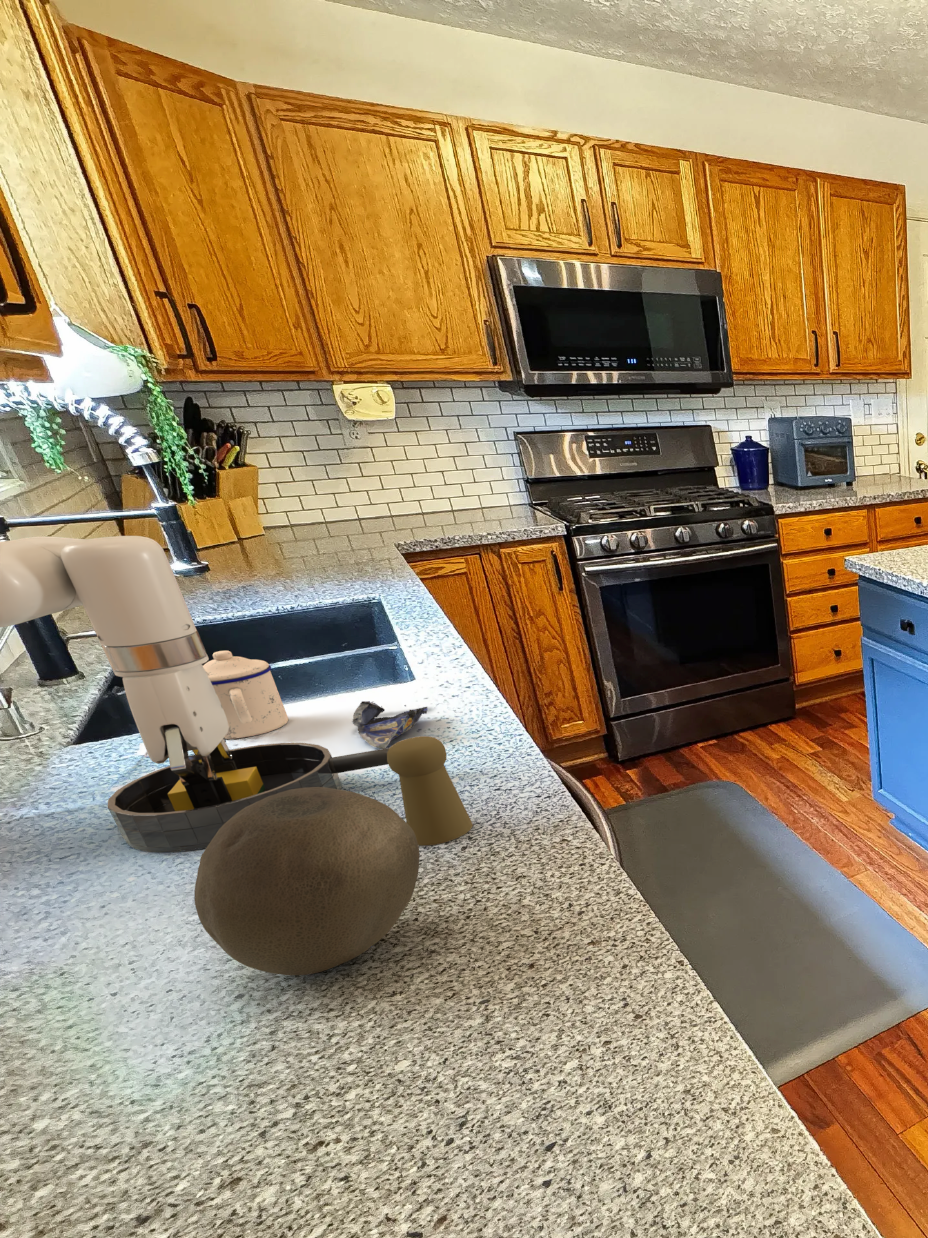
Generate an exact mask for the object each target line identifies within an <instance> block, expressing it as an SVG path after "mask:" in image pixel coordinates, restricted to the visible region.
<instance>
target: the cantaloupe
mask: <svg viewBox="0 0 928 1238" xmlns="http://www.w3.org/2000/svg"><path fill="white" fill-rule="evenodd" d="M419 870H420V846H419V845H418V843H417V839H416V836H415V833H414V831H413V830H412V828H411V827H410V826H409V825H408V824H407V823H406V820H404V819H403V818H402V817H401V816H400V815H399V814H398V813H397V812H396V811H395V810H394V809H393V808H392V807H390V806H388V805H387V804H385V803H383V802H381V801H379V800H377V799H375V798H373V797H370V796H367V795H364V794H361V793H358V792H354V791H351V790H347V789H341V790H339V789H332V788H325V787H307V788H298V789H291V790H287V791H284V792H280V793H277V794H275V795H271V796H268V797H266V798H264V799H262V800H260V801H257V802H255V803H253V804H251V805H249V806H247V807H245V808H243V809H242V810H241V811H239V812H238V813H237V814H235V815H234V816H233V817H232V818H231V819H229V820H228V821H227V822H226V823H225V824H224V825H223V826H222V827H221V828H220V829H219V830H218V832H217V833H216V835H215V836H214V837H213V839H212V840H211V842H210V843H209V845H208V846H207V847H206V848H204V851H203V852H202V854H201V855H200V859H199V865H198V867H197V874H196V879H195V885H194V891H193V893H194V894H193V895H194V896H193V897H194V907H195V910H196V914H197V916H198V919H199V922H200V924H201V926H202V927H203V929H204V931H205V932H206V933H207V934H208V936H209V937H210V938H211V939H212V940H213V941H214V942H215V943H216V944H217V945H218V946H219V947H220V948H221V950H223V951H224V952H225V953H226V954H227V956H229V957H230V958H231V959H233V960H234V961H236V962H238V963H239V964H241V965H244V966H245V967H248V968H250V969H252V970H257V971H260V972H264V973H268V974H275V975H280V976H307V975H308V976H309V975H313V974H317V973H322V972H324V971H327V970H330V969H333V968H335V967H338V966H340V965H342V964H345V963H347V962H349V961H352V960H354V959H355V958H357V957H359V956H360V955H363V954H364V953H365V952H367V951H368V950H369V949H370V948H372V947H373V946H374V945H376V944H377V943H378V942H380V941H381V940H382V939H383V938H384V937H385V936H386V935H387V933H389V931H390V930H391V929H392V928H393V927H394V925H395V924H396V923H397V922H398V921H399V918H400V917H401V915H402V913H403V912H404V910H405V909H406V907H407V906H408V904H409V903H410V901H411V900H412V897H413V895H414V892H415V888H416V884H417V881H418V876H419Z"/></svg>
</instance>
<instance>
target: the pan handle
mask: <svg viewBox="0 0 928 1238" xmlns="http://www.w3.org/2000/svg"><path fill="white" fill-rule="evenodd" d="M385 748H386V749H381V748H379V749H375V750H368V751H361V752H355V753H349V754H345V755H339V756H333V757H332V758H330V759H329V765H330V769H331V771H332V772H333V773H338V774H341V773H346V772H353V771H359V770H364V769H370V768H371V769H372V768H376V767H382V766H389V764H388V762H387V752H388V750H389V748H390V747H385Z"/></svg>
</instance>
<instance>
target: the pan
mask: <svg viewBox="0 0 928 1238" xmlns="http://www.w3.org/2000/svg"><path fill="white" fill-rule="evenodd" d="M229 750H230V752H231V754H232V760H234V762H235V764H236V767H237V769H244V768H250V767H257V770H258V772H259V775H260V777H261V780H262V782H263V785H264V787H265V790H264V791H263V792H262V793H259V794H256V795H253V796H250V797H247V798H243V799H239V800H235V801H231V802H227V803H222V804H218V805H213V806H208V807H202V808H197V809H191V810H184V811H175V810H174V807H173V805H172V803H171V801H170V799H169V796H168V793H169V792H170V790H171V789H172V788H173V787H174V786H175V784H176V783H177V782H178V781H179V780H180V777H179V775H177V774H175V773H173V772H172V771H171V768H170V765H168V766H165V767H163V768H159V769H157V770H154V771H152V772H149V773H147V774H145V775H142V776H140V777H138V778H136V779H133V780H132V781H130V782H129V783H127V784H125V785H123V786H121V787H120V788H118V789H117V790H116V791H115V792H114V793H112V795H111V796H109V798H108V799H107V809H108V811H109V813H110V815H111V817H112V819H113V821H114V823H115V826H116V827H117V829H118V832H119V833H120V835H121V837H122V839H123V840H124V841H125V843H126V844H127V845H128V846H129V847H130V848H132V849H134V850H138V851H142V852H148V853H179V852H188V851H189V852H190V851H196V850H197V851H198V850H205V849H206V847H207V846H208V845H209V843H210V842H211V840H212V839H213V837H214V836H215V835H216V833H217V832H218V830H219V829H220V828H221V827H222V826H223V825H224V824H225V823H226V822H227V821H228V820H229V819H231V818H232V817H233V816H234V815H235V814H237V813H238V812H239V811H241V810H242V809H243V808H245V807H247V806H249V805H251V804H253V803H255V802H257V801H260V800H262V799H264V798H266V797H268V796H271V795H275V794H277V793H280V792H284V791H287V790H291V789H298V788H307V787H325V788H332V789H339V790H343V786H342V781H341V778H340V775H339V773H333V772H332V771H331V769H330V765H329V759H330V758H332V754H331V752H330V750H329V749H328V748H326V747H325V746H322V745H319V744H315V743H307V742H277V743H266V744H258V745H251V746H245V747H238V748H233V749H232V748H231V749H229ZM232 760H227V761H232ZM191 762H192V763H193V764H194V765H195V764H199V765H200V766H202V765H201V764H200V763H199V761H198V760H197V761H191Z"/></svg>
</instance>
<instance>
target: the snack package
mask: <svg viewBox="0 0 928 1238" xmlns="http://www.w3.org/2000/svg"><path fill="white" fill-rule="evenodd" d="M404 707H407V705H406V704H405V705H404ZM384 712H385V708H384V707H383V705H381V706H380V705H378V704H377V703H376V702H374V701H370V700H365V701H363V700H362V701H361V702H360V704H359V705H358V706H357V708H356V709H355V710H354V712H353V716H352V717H353V718H352V721H351V722H352V725H354V726H355V727H357V732H358V735H359V736H360V738H361V739H362V740H364V741H365V742H367V743H368V745H369V746H371V747H374V748H377V749H386V748H388V747H389V745H390V743H391V741H393V740H394V739H396V738H397V737H399V736H402V734H404V733H406V732H408V731H410V730H411V729H413V728H415V726H416V724H417V723H418V721H419V719H420V718H421V717H422V716H423V715H426V714H427V712H428V706H423V707H420V708H419V707H418V708H416V709H409V710H406V711H403V712H400V713H398V714H396V715H394V716H383V717H379V716H380V715H381V714H382V713H384Z"/></svg>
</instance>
